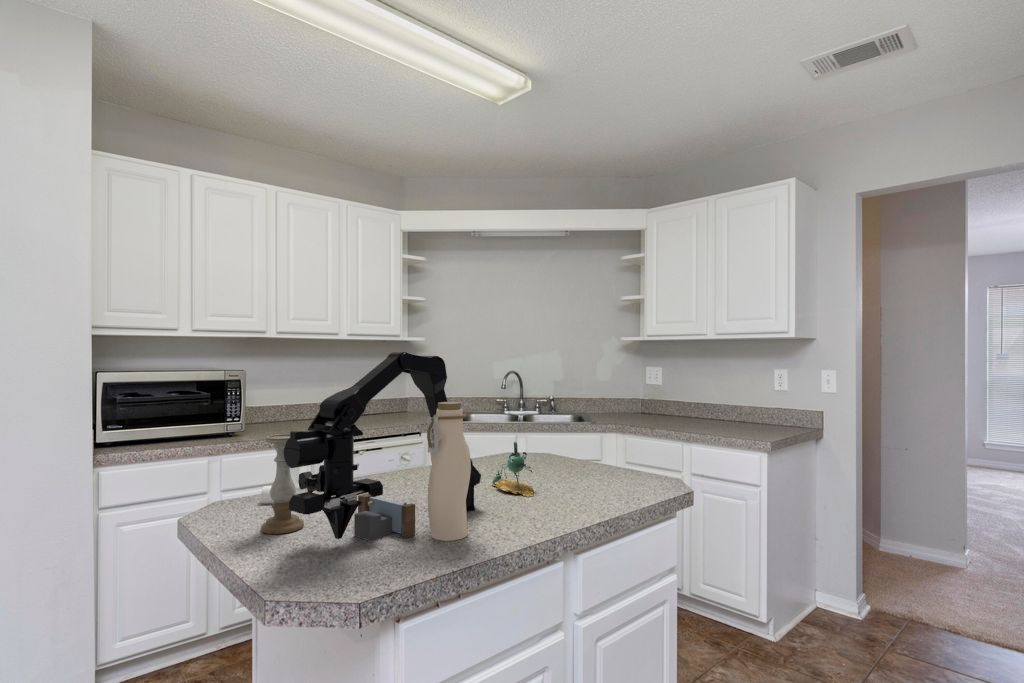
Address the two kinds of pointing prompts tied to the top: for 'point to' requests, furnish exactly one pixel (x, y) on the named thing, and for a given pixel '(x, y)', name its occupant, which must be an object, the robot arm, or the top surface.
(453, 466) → the water bottle
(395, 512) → the door
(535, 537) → the top surface
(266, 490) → the plastic part
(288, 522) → the candle holder
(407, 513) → the frame
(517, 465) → the frog figurine
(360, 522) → the dark grey stepped block
